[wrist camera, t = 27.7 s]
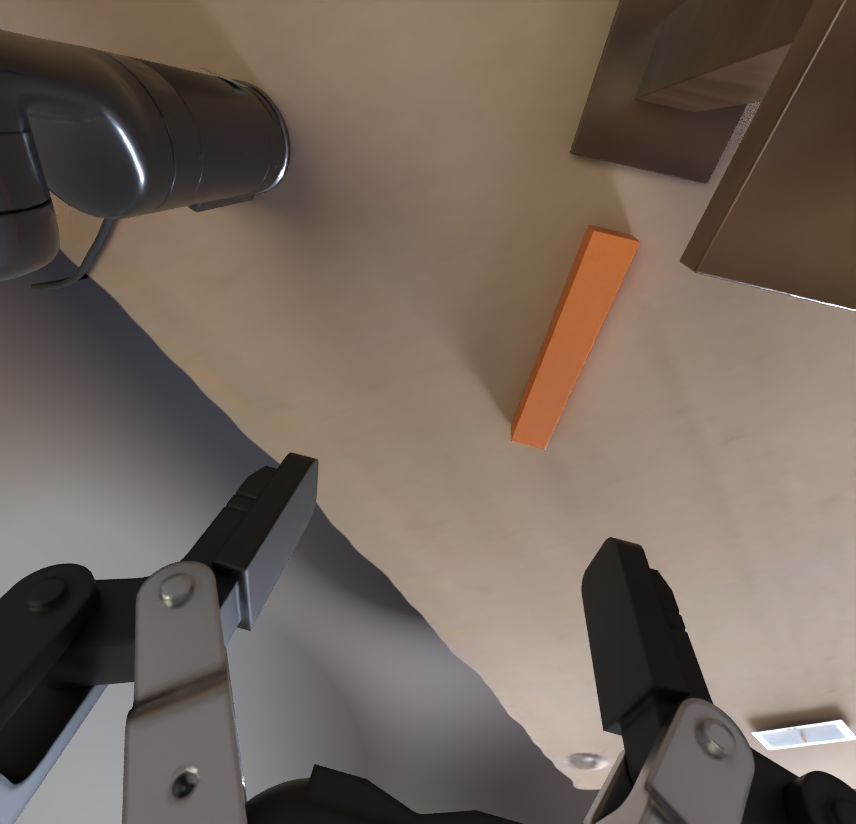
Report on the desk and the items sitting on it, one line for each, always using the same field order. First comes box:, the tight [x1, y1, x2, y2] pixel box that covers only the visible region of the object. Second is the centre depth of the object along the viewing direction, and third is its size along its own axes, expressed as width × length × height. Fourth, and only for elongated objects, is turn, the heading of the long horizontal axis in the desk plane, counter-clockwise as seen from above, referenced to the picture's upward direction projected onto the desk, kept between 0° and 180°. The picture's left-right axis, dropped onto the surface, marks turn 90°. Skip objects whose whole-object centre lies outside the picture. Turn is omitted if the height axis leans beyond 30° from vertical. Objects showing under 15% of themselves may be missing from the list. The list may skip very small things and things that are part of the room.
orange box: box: [511, 225, 640, 449], centre depth 47 cm, size 25×4×3 cm, turn 169°
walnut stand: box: [570, 0, 856, 311], centre depth 21 cm, size 19×12×32 cm, turn 169°
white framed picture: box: [752, 720, 856, 750], centre depth 80 cm, size 8×15×2 cm, turn 134°
